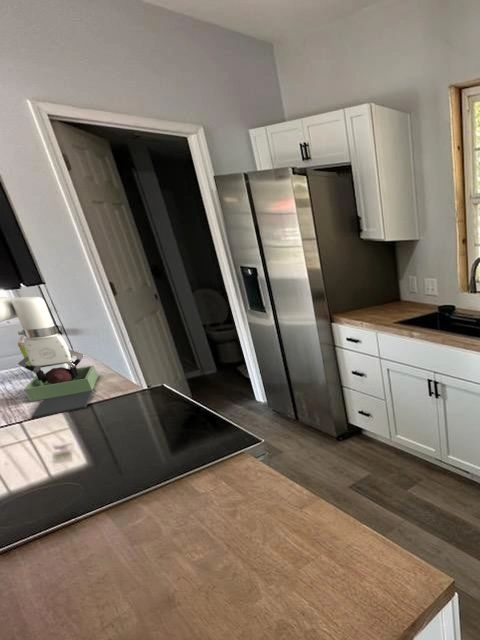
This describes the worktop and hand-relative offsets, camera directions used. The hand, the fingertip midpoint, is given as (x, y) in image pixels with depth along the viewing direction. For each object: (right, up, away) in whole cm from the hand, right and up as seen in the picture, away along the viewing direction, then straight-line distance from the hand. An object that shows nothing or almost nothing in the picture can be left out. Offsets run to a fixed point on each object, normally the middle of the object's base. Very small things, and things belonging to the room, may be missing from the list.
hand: (60, 379), depth 151 cm
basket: (+1, -3, +2) cm, 4 cm away
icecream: (0, -2, +1) cm, 3 cm away
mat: (+15, -9, -13) cm, 22 cm away
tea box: (-26, +4, +20) cm, 33 cm away
